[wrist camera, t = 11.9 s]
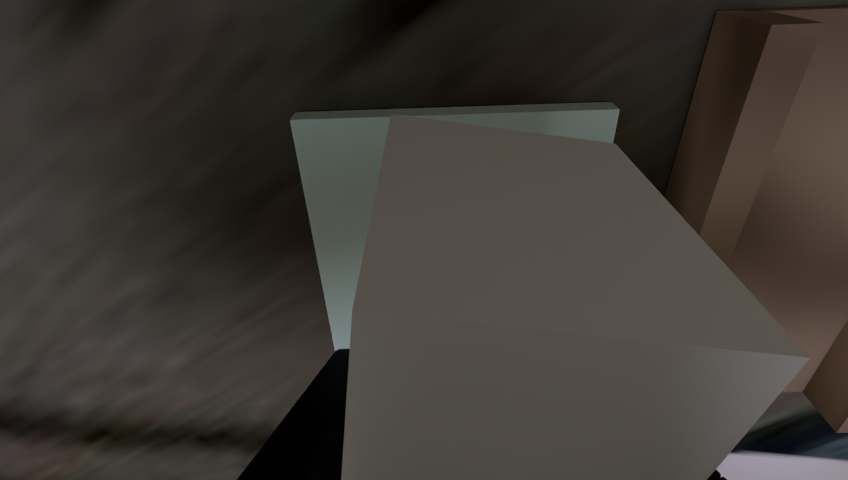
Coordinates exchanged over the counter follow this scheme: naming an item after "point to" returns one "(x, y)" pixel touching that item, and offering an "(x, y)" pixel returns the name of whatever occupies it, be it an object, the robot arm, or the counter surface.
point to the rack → (777, 178)
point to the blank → (544, 319)
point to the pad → (360, 166)
